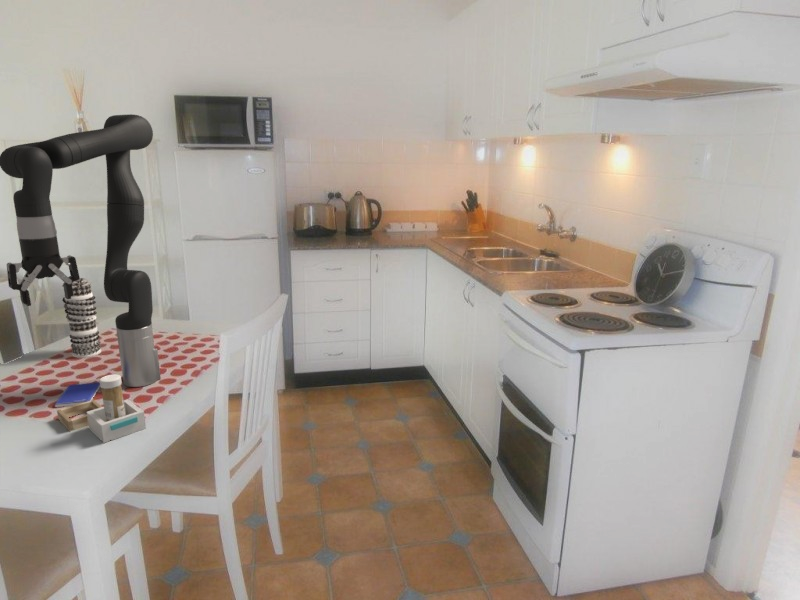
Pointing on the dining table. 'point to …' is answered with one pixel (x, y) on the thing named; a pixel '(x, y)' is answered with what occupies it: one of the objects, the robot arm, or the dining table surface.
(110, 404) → the sprinkles bottle
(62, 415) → the wooden square frame
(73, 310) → the decorative candle
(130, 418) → the block
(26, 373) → the dining table surface
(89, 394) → the hard drive
